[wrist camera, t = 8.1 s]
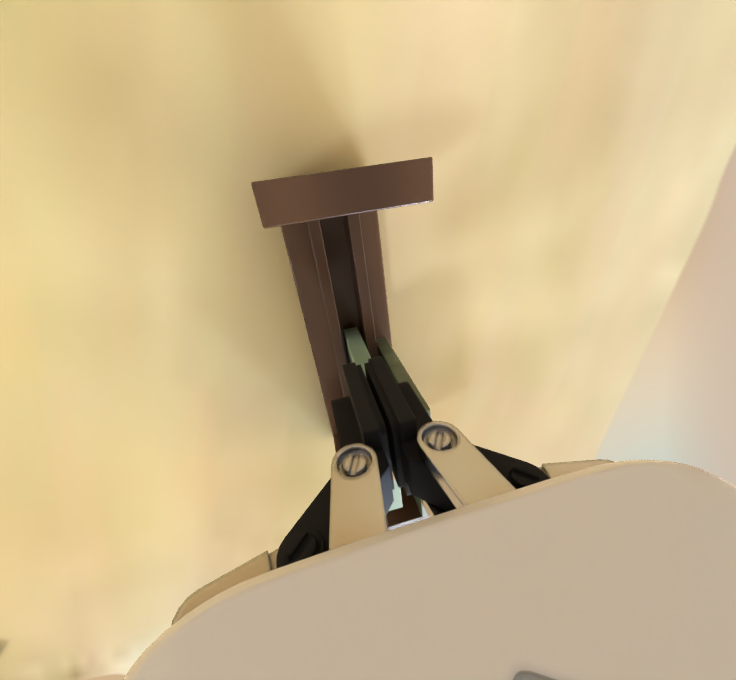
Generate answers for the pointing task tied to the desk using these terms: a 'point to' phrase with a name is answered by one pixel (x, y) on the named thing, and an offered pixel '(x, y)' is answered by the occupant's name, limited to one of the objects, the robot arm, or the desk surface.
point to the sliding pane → (361, 356)
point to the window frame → (345, 267)
